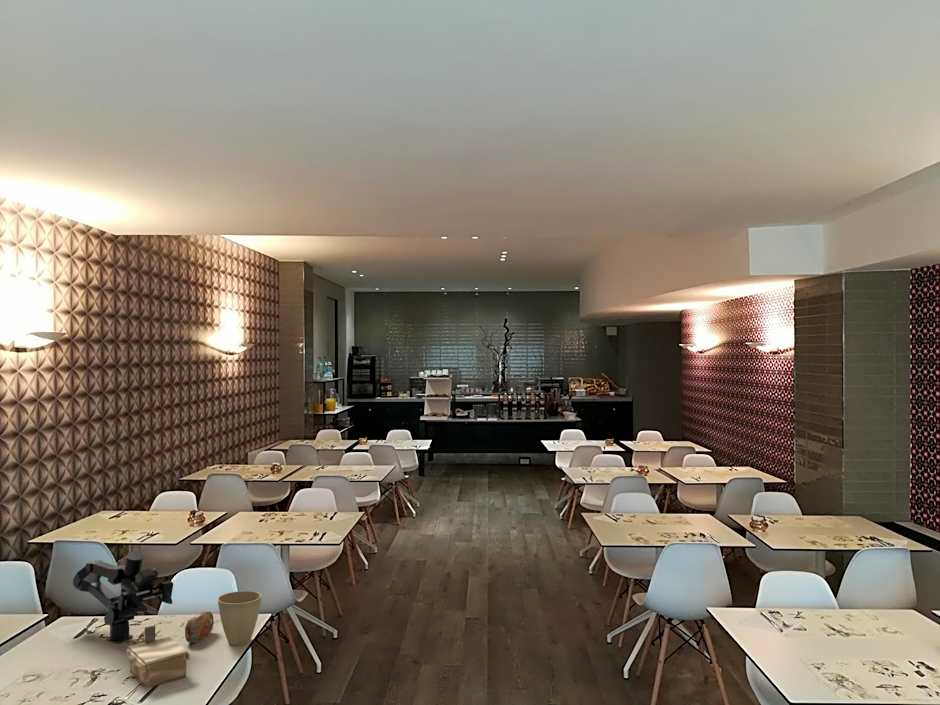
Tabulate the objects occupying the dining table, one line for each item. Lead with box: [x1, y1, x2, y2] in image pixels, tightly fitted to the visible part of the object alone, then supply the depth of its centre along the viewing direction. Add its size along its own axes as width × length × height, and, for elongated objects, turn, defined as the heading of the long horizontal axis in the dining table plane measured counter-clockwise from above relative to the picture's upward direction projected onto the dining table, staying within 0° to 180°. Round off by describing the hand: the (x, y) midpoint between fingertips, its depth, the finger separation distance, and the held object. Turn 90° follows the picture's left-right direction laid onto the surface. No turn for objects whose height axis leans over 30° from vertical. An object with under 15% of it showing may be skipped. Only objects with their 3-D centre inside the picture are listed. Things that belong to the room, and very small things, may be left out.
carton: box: [129, 654, 187, 689], centre depth 236 cm, size 16×12×7 cm
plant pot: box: [217, 590, 262, 646], centre depth 263 cm, size 15×15×16 cm
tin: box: [184, 611, 215, 644], centre depth 266 cm, size 15×3×8 cm, turn 168°
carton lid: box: [126, 625, 191, 672], centre depth 236 cm, size 17×14×8 cm
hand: (159, 606), depth 251 cm, fingers open, 9 cm apart
